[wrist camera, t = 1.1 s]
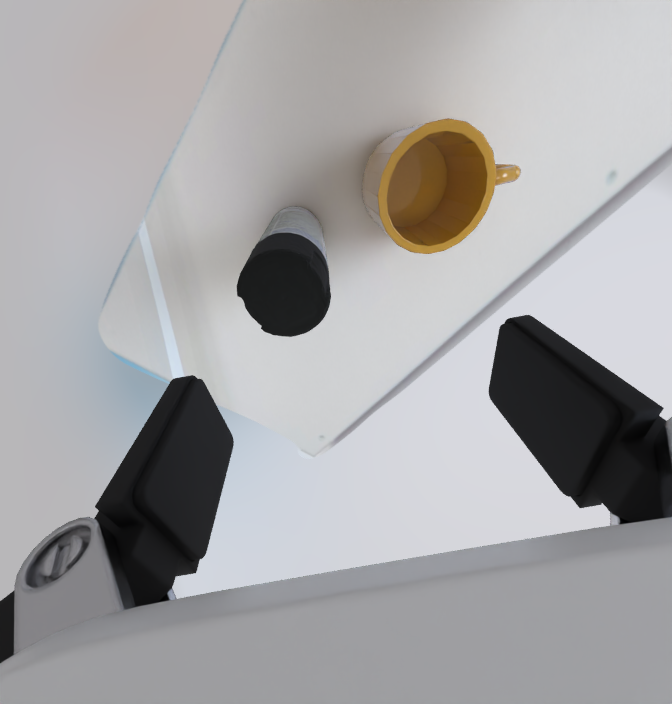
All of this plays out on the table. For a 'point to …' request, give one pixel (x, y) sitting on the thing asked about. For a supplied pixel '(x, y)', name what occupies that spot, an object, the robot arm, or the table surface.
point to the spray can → (287, 275)
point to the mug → (432, 184)
